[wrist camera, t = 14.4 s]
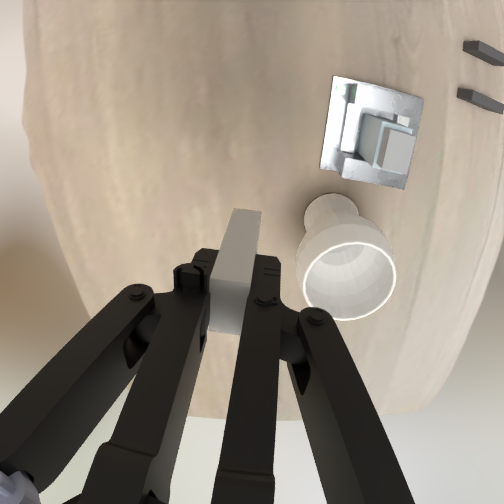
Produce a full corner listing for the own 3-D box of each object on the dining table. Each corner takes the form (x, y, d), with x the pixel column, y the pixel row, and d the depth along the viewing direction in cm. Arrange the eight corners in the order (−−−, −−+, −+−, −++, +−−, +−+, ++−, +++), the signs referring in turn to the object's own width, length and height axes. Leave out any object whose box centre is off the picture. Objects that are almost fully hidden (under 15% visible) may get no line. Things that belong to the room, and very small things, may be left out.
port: (333, 76, 34) (340, 75, 29) (422, 98, 33) (439, 102, 29) (319, 167, 40) (323, 179, 35) (404, 183, 39) (417, 196, 35)
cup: (336, 166, 39) (363, 213, 27) (383, 222, 43) (419, 286, 30) (276, 217, 44) (273, 282, 31) (325, 266, 47) (338, 339, 34)
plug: (363, 112, 35) (388, 123, 26) (389, 119, 35) (420, 132, 26) (356, 150, 38) (377, 172, 29) (381, 156, 38) (408, 180, 29)
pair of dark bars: (463, 41, 28) (479, 40, 25) (494, 56, 28) (510, 57, 24) (456, 97, 32) (471, 100, 29) (487, 110, 32) (502, 114, 29)
